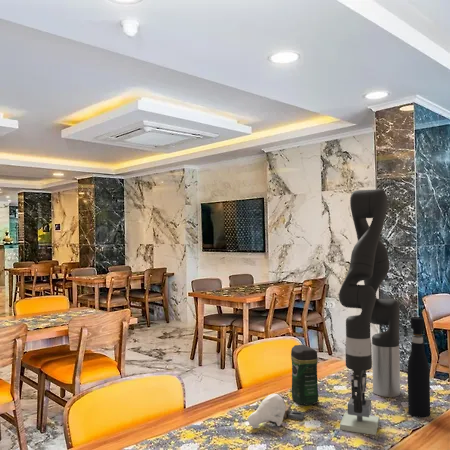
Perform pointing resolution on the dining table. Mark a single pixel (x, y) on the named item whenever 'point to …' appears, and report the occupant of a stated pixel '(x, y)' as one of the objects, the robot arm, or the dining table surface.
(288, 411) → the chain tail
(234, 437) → the dining table surface
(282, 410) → the white lumpy piece
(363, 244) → the robot arm
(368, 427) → the peg stand
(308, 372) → the coffee jar
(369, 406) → the link
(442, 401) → the dining table surface
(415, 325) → the black water bottle
